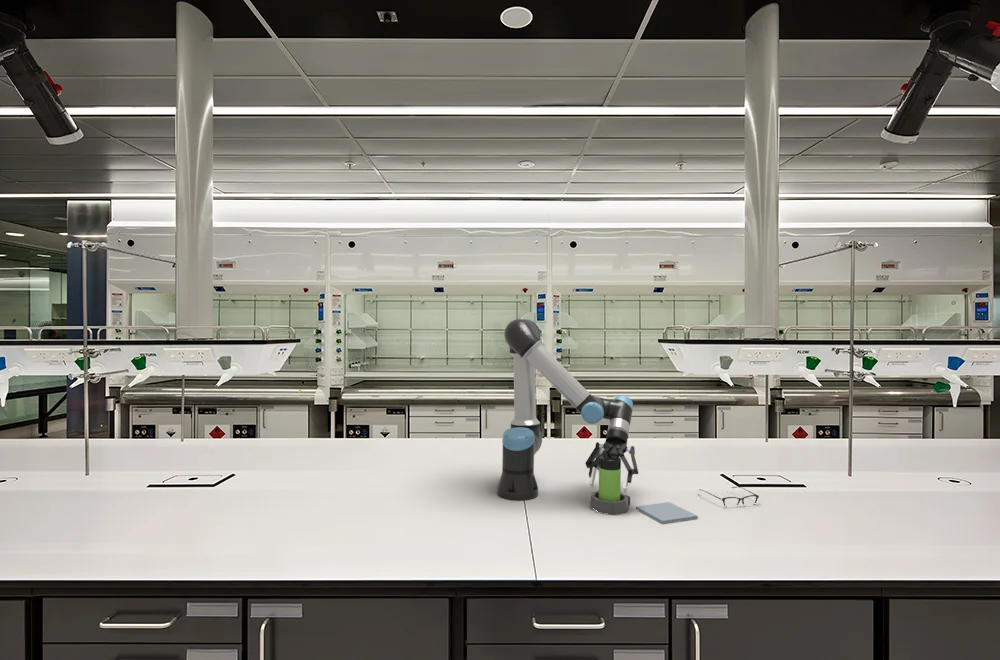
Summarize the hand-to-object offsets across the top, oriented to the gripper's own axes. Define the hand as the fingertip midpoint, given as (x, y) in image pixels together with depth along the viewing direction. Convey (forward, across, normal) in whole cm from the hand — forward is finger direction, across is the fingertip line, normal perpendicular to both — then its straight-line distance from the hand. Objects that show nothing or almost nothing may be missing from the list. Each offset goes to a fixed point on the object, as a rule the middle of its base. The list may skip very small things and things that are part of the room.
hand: (607, 488), depth 176 cm
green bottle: (+4, 0, -8) cm, 8 cm away
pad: (+1, -18, -9) cm, 21 cm away
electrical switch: (-31, +13, -43) cm, 54 cm away
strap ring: (+3, 0, -7) cm, 8 cm away
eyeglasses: (-16, -37, -28) cm, 49 cm away
